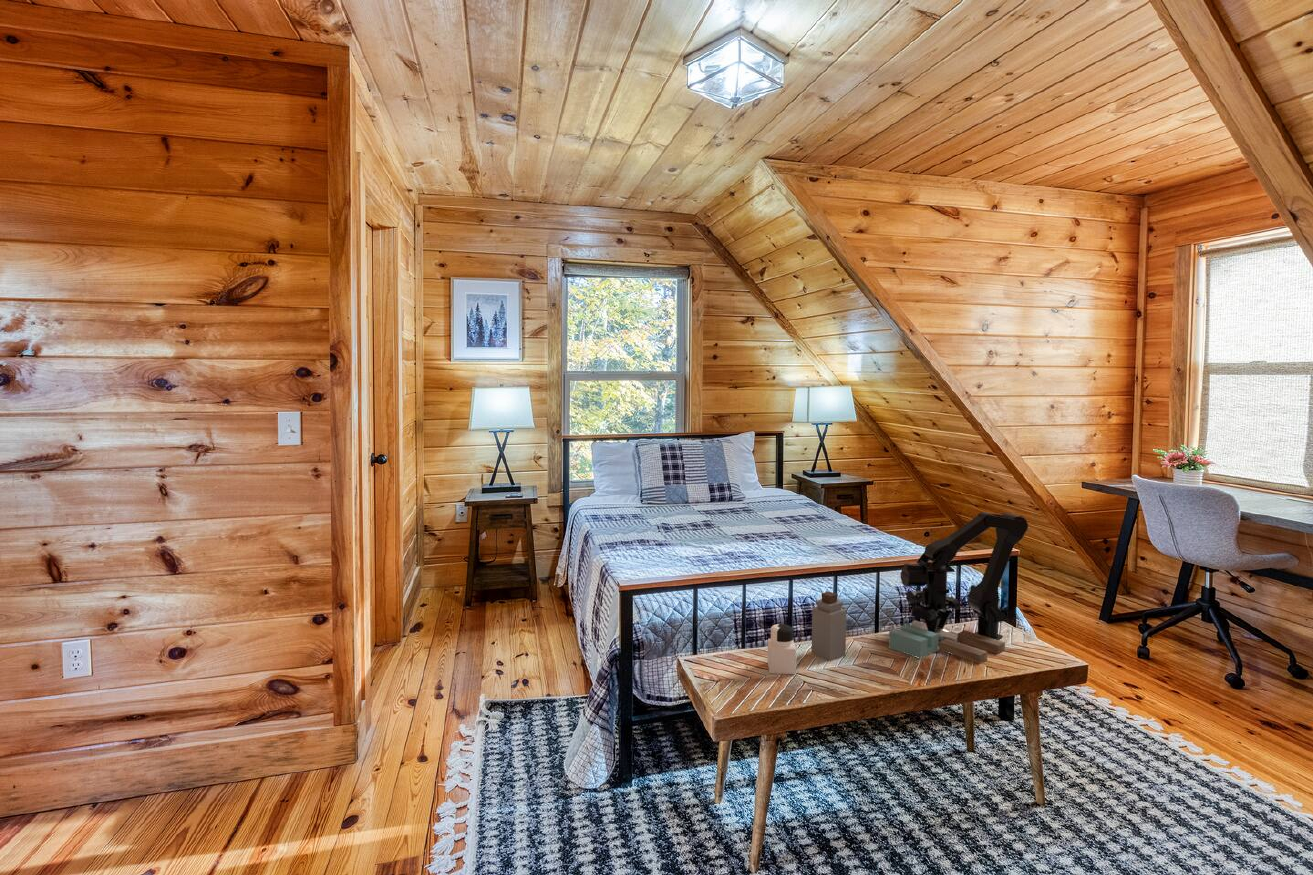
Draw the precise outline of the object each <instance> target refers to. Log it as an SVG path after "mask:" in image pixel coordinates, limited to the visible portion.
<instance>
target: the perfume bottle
mask: <svg viewBox="0 0 1313 875" xmlns="http://www.w3.org/2000/svg"><path fill="white" fill-rule="evenodd" d="M815 603H816V606H815V607H812V608H811V610H812V612H811V614H812V615H811V616H812V617H811V654H812V655H815V656H817V657H819V658H821V659H823V660H826V661H828V662H831V661H834V660H837V659H840V658H842V657H846V652H847V650H846V646H847V645H846V644H847V609H844V608H842V607H843V605H844V604H843V603H844V601H841V600H838V593H835V592H832V591H830V590H829V591H824V592H822V593H821V598H819V599H817V600H815Z"/></svg>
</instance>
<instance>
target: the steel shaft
mask: <svg viewBox="0 0 1313 875" xmlns="http://www.w3.org/2000/svg"><path fill="white" fill-rule="evenodd" d="M910 625H912V626H915V627H918V628H921V629H924V630H928V629H927V625H926V623H925V622H921V621H918V620H913V621H911V623H910ZM935 633H937V634H938V641H939V642H940V641H943V640H945V639H949V640H952V641H955V642H958V643H961V642H960V634H958V633H959V632H955V631H954V632H953V631H951V630H948V629H945V628H943V629H941V628H938V627H937V630H936V632H935Z"/></svg>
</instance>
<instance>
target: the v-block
mask: <svg viewBox="0 0 1313 875" xmlns="http://www.w3.org/2000/svg"><path fill="white" fill-rule="evenodd" d="M889 647H890V648H889ZM888 648H889V649H891V648H893V649H892V650H894V649H895V651H897V650H898V651H897V652H900V653H903V652H905V653H908V654H910V655H909V656H911V655H913V656H912V657H914V656H917V657H919V658H921V657H923V656H925V657H927V656H929V655H931V654H930V653H932V652H934V653H936V652H937V650H938V651H939V640H938V634H937V633H934V632H931V631H928V630H924V629H921V628H918V627H915V626H912V625H911V624H908V623H906V624H904V625H902V626H900V629H899V628H894V629H892V630H889V632H888ZM905 653H904V654H905ZM908 654H907V655H908ZM928 654H929V655H928ZM932 654H933V653H932ZM926 655H927V656H926ZM917 657H916V658H917ZM919 658H918V659H919ZM923 658H924V657H923ZM921 659H922V658H921Z"/></svg>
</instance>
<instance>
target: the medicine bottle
mask: <svg viewBox="0 0 1313 875" xmlns="http://www.w3.org/2000/svg"><path fill="white" fill-rule="evenodd" d="M767 666H768V667H767V668H768V671H769V674H774V675H775V674H776V675H777V674H778V675H797V647H796V645H795V641H794V628H793V627H792V626H790V625H789V624H785V623H777V624H773V625H772V626H771V627H770V638H768V639H767Z"/></svg>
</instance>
